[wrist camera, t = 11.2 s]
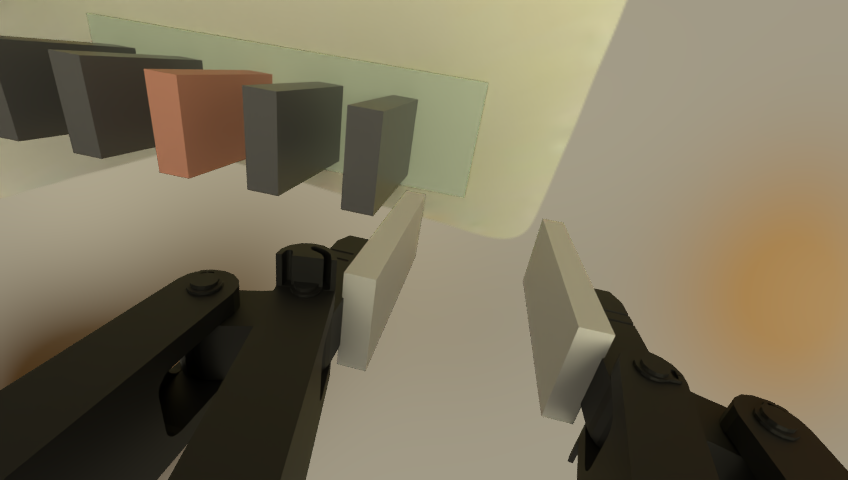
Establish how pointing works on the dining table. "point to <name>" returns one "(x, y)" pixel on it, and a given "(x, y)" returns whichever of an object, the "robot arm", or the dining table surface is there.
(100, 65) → the domino
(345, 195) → the domino
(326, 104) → the domino
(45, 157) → the dining table surface
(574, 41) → the dining table surface
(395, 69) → the mat
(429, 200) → the dining table surface
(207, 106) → the orange domino
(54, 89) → the domino
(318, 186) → the dining table surface
